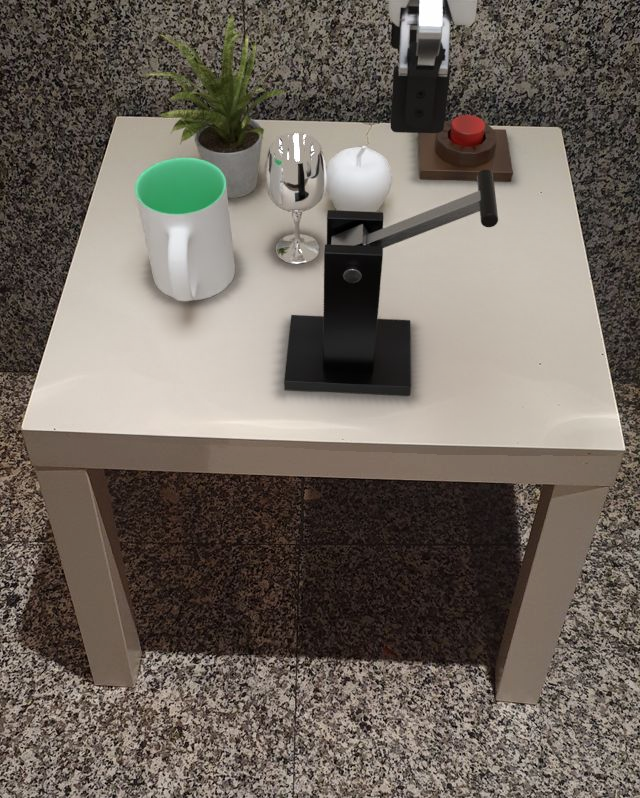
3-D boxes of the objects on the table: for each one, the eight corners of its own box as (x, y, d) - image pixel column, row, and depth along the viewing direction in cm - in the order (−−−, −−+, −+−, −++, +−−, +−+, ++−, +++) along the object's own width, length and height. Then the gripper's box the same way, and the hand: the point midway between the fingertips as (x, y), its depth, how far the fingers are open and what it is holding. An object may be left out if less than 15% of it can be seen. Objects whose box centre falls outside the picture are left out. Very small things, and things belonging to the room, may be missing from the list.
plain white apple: (347, 238, 86) (349, 174, 79) (311, 200, 89) (311, 136, 83) (403, 215, 88) (410, 151, 82) (366, 179, 92) (369, 115, 85)
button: (481, 128, 93) (483, 115, 92) (484, 148, 91) (486, 134, 90) (449, 128, 93) (450, 114, 92) (450, 147, 91) (452, 133, 90)
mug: (236, 328, 78) (226, 243, 70) (149, 332, 78) (129, 247, 69) (234, 242, 85) (225, 155, 77) (155, 245, 85) (137, 159, 77)
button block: (504, 138, 96) (508, 115, 94) (511, 181, 92) (516, 158, 89) (417, 135, 97) (419, 113, 94) (419, 179, 92) (422, 156, 89)
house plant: (170, 138, 96) (147, -3, 83) (290, 136, 97) (286, -5, 84) (159, 219, 87) (132, 75, 75) (291, 217, 88) (287, 73, 75)
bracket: (409, 328, 78) (425, 201, 66) (409, 396, 73) (427, 271, 61) (291, 323, 78) (287, 195, 67) (284, 390, 73) (278, 264, 62)
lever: (498, 184, 63) (486, 160, 61) (503, 230, 60) (491, 206, 58) (346, 244, 68) (332, 223, 67) (343, 288, 65) (328, 268, 64)
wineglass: (335, 241, 85) (338, 140, 76) (309, 275, 82) (307, 175, 73) (286, 223, 87) (283, 122, 78) (258, 257, 84) (251, 155, 75)
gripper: (539, -172, 35) (482, 169, 49) (505, -285, 46) (466, 20, 59) (360, -173, 35) (353, 166, 49) (368, -285, 46) (360, 19, 60)
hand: (415, 86), depth 54 cm, fingers open, 9 cm apart
